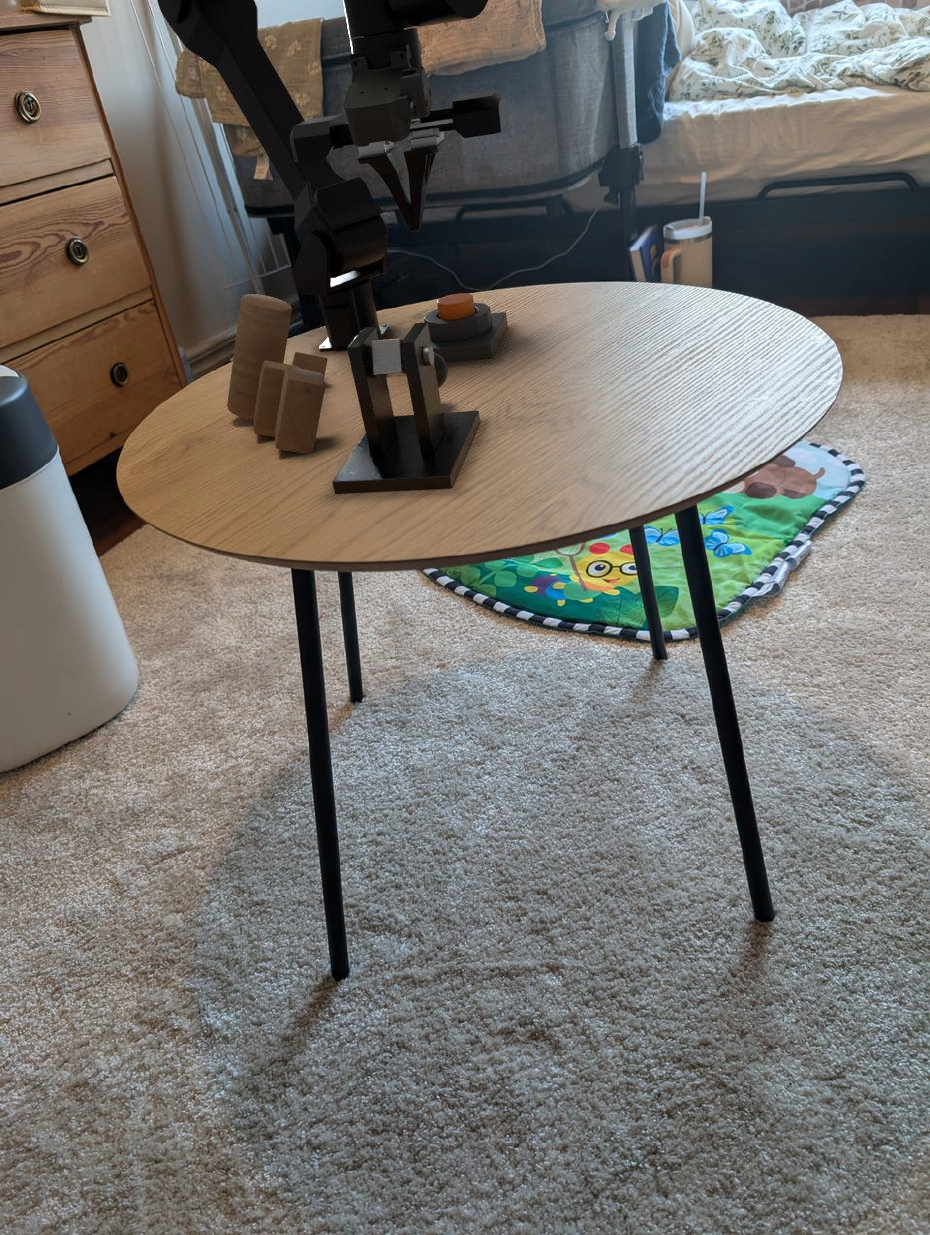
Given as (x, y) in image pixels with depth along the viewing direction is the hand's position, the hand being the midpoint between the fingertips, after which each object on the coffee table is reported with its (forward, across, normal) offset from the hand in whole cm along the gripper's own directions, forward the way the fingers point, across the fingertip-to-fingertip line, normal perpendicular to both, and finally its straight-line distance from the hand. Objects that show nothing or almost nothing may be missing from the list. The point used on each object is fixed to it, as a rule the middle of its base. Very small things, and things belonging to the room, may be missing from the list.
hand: (416, 230), depth 84 cm
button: (+9, +2, +2) cm, 9 cm away
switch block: (+12, +2, +2) cm, 12 cm away
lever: (+8, +3, -20) cm, 22 cm away
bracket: (+12, +3, -24) cm, 27 cm away
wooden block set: (+12, -11, -15) cm, 22 cm away
